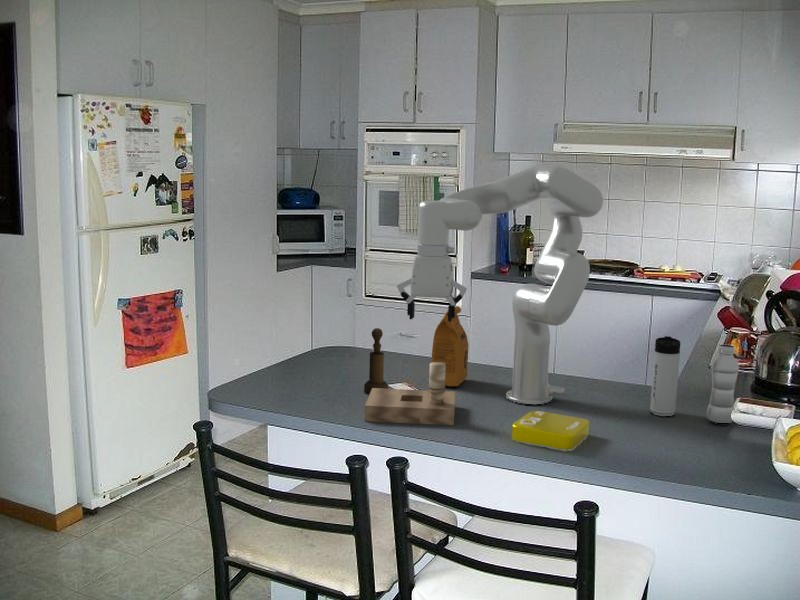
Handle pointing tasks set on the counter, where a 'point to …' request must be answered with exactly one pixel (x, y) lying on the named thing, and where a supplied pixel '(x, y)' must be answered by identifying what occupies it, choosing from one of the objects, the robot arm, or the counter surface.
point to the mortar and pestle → (376, 365)
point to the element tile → (550, 429)
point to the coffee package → (451, 349)
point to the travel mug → (665, 375)
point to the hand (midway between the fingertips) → (430, 319)
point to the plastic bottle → (723, 385)
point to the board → (409, 407)
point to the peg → (437, 382)
